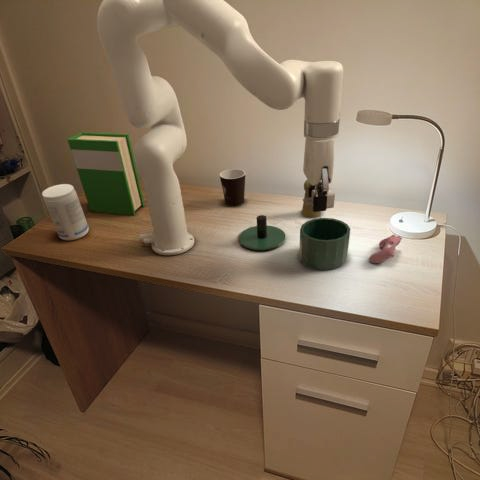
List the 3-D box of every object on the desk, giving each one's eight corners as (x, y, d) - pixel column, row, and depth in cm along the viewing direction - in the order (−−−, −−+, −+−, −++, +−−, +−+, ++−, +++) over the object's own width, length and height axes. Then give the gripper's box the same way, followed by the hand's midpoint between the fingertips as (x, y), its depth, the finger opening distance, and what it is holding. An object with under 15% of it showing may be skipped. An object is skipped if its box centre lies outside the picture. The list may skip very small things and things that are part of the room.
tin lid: (241, 254, 116) (240, 231, 112) (236, 231, 127) (235, 209, 122) (289, 249, 117) (290, 225, 112) (280, 226, 127) (280, 204, 123)
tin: (305, 272, 108) (306, 244, 102) (295, 248, 117) (295, 220, 112) (353, 267, 108) (356, 238, 103) (339, 243, 118) (341, 215, 112)
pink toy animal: (380, 271, 108) (397, 253, 103) (366, 260, 109) (382, 242, 104) (391, 253, 115) (408, 235, 109) (378, 243, 115) (393, 225, 110)
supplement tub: (88, 224, 137) (73, 181, 128) (90, 237, 130) (75, 192, 121) (58, 231, 135) (41, 187, 125) (58, 244, 128) (41, 199, 118)
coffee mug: (247, 207, 139) (245, 178, 133) (221, 208, 140) (218, 179, 133) (247, 192, 148) (245, 164, 142) (223, 194, 148) (220, 166, 142)
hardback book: (144, 205, 145) (128, 134, 130) (134, 215, 140) (115, 141, 125) (102, 201, 150) (81, 132, 135) (90, 210, 145) (67, 139, 130)
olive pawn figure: (320, 218, 130) (322, 184, 123) (300, 217, 131) (301, 184, 124) (321, 209, 134) (323, 176, 127) (302, 209, 135) (303, 176, 128)
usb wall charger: (333, 208, 101) (335, 193, 99) (306, 212, 100) (307, 197, 98) (327, 201, 104) (328, 186, 102) (301, 206, 103) (301, 190, 101)
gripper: (296, 119, 97) (295, 194, 109) (313, 141, 84) (309, 223, 96) (328, 116, 97) (323, 191, 109) (349, 138, 84) (341, 220, 96)
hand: (317, 205), depth 102 cm, fingers closed on usb wall charger, 4 cm apart
